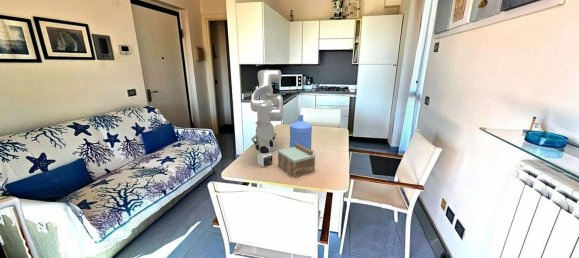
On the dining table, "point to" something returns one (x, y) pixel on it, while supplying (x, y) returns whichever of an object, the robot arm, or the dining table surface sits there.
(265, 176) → the dining table surface
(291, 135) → the water jug
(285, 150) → the lid
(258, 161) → the medicine bottle
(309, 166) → the wooden box
